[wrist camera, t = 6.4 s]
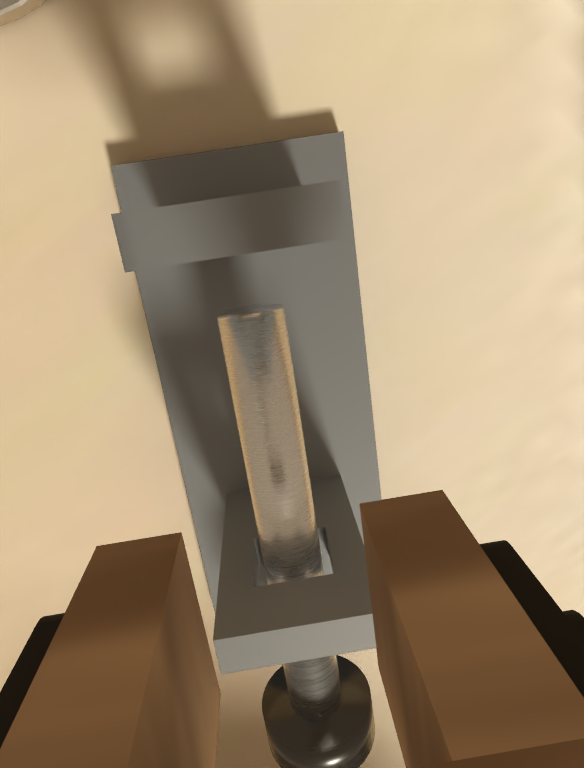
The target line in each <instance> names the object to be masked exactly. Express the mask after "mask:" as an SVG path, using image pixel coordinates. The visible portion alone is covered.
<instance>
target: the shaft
mask: <svg viewBox="0 0 584 768" xmlns="http://www.w3.org/2000/svg"><path fill="white" fill-rule="evenodd" d="M217 321H218V326H219V331H220V336H221V342H222V347H223V352H224V357H225V363H226V368H227V373H228V378H229V384H230V389H231V394H232V399H233V405H234V410H235V415H236V420H237V426H238V431H239V436H240V441H241V447H242V452H243V457H244V462H245V468H246V473H247V478H248V483H249V489H250V494H251V499H252V504H253V510H254V515H255V520H256V525H257V531H258V536H259V541H260V546H261V552H262V557H263V562H264V567H265V573H266V578H267V583H268V584H274V583H280V582H286V581H292V580H298V579H304V578H310V577H316V576H322V575H324V571H323V564H322V557H321V551H320V544H319V537H318V530H317V524H316V517H315V510H314V504H313V497H312V490H311V484H310V477H309V470H308V464H307V457H306V450H305V444H304V437H303V430H302V423H301V417H300V410H299V403H298V397H297V390H296V383H295V377H294V370H293V363H292V357H291V350H290V343H289V336H288V330H287V323H286V316H285V310H284V306H283V305H280V304H262V305H253V306H247V307H242V308H237V309H233V310H230V311H226V312H224V313H221V314H219V315H218V316H217ZM262 710H263V716H264V721H265V725H266V730H267V735H268V739H269V744H270V748H271V752H272V754H273V756H274V758H275V760H276V762H277V763H278V764H279V766H280V767H281V768H358V767H359V766H360V765H361V764H362V763H363V762H364V760H365V759H366V758H367V756H368V754H369V752H370V750H371V748H372V745H373V741H374V735H375V725H374V717H373V709H372V701H371V693H370V687H369V684H368V681H367V679H366V677H365V675H364V674H363V673H362V671H361V670H360V669H359V668H358V667H357V666H356V665H355V664H354V663H352V662H351V661H349V660H348V659H346V658H343V657H341V656H338V655H332V656H326V657H320V658H315V659H309V660H303V661H297V662H291V663H285V664H283V666H282V667H281V668H279V669H278V670H277V671H276V672H275V674H274V675H273V676H272V677H271V679H270V680H269V682H268V684H267V686H266V688H265V691H264V694H263V699H262Z"/></svg>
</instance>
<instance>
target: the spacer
mask: <svg viewBox="0 0 584 768" xmlns="http://www.w3.org/2000/svg"><path fill="white" fill-rule="evenodd" d="M359 505H360V514H361V522H362V531H363V539H364V547H365V556H366V564H367V573H368V581H369V590H370V598H371V606H372V615H373V623H374V632H375V640H376V649H377V657H378V666H379V670H380V674H381V677H382V681H383V685H384V688H385V692H386V696H387V699H388V703H389V707H390V710H391V714H392V718H393V721H394V725H395V729H396V732H397V736H398V740H399V743H400V747H401V751H402V754H403V758H404V761H405V765H406V768H584V698H583V696H582V695H581V693H580V692H579V690H578V689H577V687H576V686H575V684H574V683H573V681H572V680H571V679H570V677H569V676H568V674H567V673H566V671H565V670H564V668H563V667H562V665H561V664H560V662H559V661H558V659H557V658H556V656H555V655H554V654H553V652H552V651H551V649H550V648H549V646H548V645H547V643H546V642H545V640H544V639H543V637H542V636H541V634H540V633H539V632H538V630H537V629H536V627H535V626H534V624H533V623H532V621H531V620H530V618H529V617H528V615H527V614H526V612H525V611H524V609H523V608H522V607H521V605H520V604H519V602H518V601H517V599H516V598H515V596H514V595H513V593H512V592H511V590H510V589H509V587H508V586H507V584H506V583H505V582H504V580H503V579H502V577H501V576H500V574H499V573H498V571H497V570H496V568H495V567H494V565H493V564H492V562H491V561H490V560H489V558H488V557H487V555H486V554H485V552H484V551H483V549H482V548H481V546H480V545H479V543H478V542H477V540H476V539H475V537H474V536H473V535H472V533H471V532H470V530H469V529H468V527H467V526H466V524H465V523H464V521H463V520H462V518H461V517H460V515H459V514H458V512H457V511H456V510H455V508H454V507H453V505H452V504H451V502H450V501H449V499H448V498H447V496H446V495H445V493H444V492H443V490H439V491H433V492H427V493H421V494H415V495H408V496H402V497H396V498H390V499H384V500H378V501H372V502H365V503H359ZM219 707H220V690H219V686H218V682H217V678H216V673H215V669H214V665H213V661H212V657H211V653H210V649H209V644H208V640H207V636H206V632H205V628H204V624H203V620H202V616H201V611H200V607H199V603H198V599H197V595H196V591H195V587H194V582H193V578H192V574H191V570H190V566H189V562H188V558H187V553H186V549H185V545H184V541H183V537H182V533H175V534H169V535H162V536H156V537H150V538H144V539H138V540H132V541H126V542H119V543H113V544H107V545H101V546H97V547H96V549H95V551H94V553H93V555H92V557H91V560H90V562H89V564H88V566H87V568H86V570H85V572H84V574H83V576H82V578H81V581H80V583H79V585H78V587H77V589H76V591H75V593H74V595H73V597H72V599H71V602H70V604H69V606H68V608H67V610H66V612H65V614H64V616H63V618H62V620H61V623H60V625H59V627H58V629H57V631H56V633H55V635H54V637H53V639H52V641H51V643H50V646H49V648H48V650H47V652H46V654H45V656H44V658H43V660H42V662H41V664H40V667H39V669H38V671H37V673H36V675H35V677H34V679H33V681H32V683H31V685H30V688H29V690H28V692H27V694H26V696H25V698H24V700H23V702H22V704H21V706H20V709H19V711H18V713H17V715H16V717H15V719H14V721H13V723H12V725H11V727H10V730H9V732H8V734H7V736H6V738H5V740H4V742H3V744H2V746H1V748H0V768H215V763H216V749H217V735H218V721H219Z"/></svg>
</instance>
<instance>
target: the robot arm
mask: <svg viewBox="0 0 584 768" xmlns="http://www.w3.org/2000/svg"><path fill="white" fill-rule="evenodd" d="M45 1H46V0H0V25H3V24H6V23H9V22H12V21H15V20H17V19H19V18H21V17H22V16H24V15H26V14H27V13H29V12H31V11H32V10H34V9H36V8H37V7H39V6H40V5H42V4H43V3H44V2H45ZM479 545H480V546H481V548H482V549H483V551H484V552H485V554H486V555H487V557H488V558H489V560H490V561H491V562H492V564H493V565H494V567H495V568H496V570H497V571H498V573H499V574H500V576H501V577H502V579H503V580H504V582H505V583H506V584H507V586H508V587H509V589H510V590H511V592H512V593H513V595H514V596H515V598H516V599H517V601H518V602H519V604H520V605H521V607H522V608H523V609H524V611H525V612H526V614H527V615H528V617H529V618H530V620H531V621H532V623H533V624H534V626H535V627H536V629H537V630H538V632H539V633H540V634H541V636H542V637H543V639H544V640H545V642H546V643H547V645H548V646H549V648H550V649H551V651H552V652H553V654H554V655H555V656H556V658H557V659H558V661H559V662H560V664H561V665H562V667H563V668H564V670H565V671H566V673H567V674H568V676H569V677H570V679H571V680H572V681H573V683H574V684H575V686H576V687H577V689H578V690H579V692H580V693H581V695H582V696H583V698H584V617H583V616H582V615H581V614H580V613H578V612H576V611H574V610H569V611H563V612H562V610H561V609H560V608H559V606H558V605H557V604H556V602H555V601H554V600H553V599H552V597H551V596H550V595H549V593H548V592H547V591H546V590H545V588H544V587H543V586H542V584H541V583H540V582H539V581H538V579H537V578H536V577H535V575H534V574H533V573H532V572H531V570H530V569H529V568H528V566H527V565H526V564H525V563H524V561H523V560H522V559H521V557H520V556H519V555H518V554H517V552H516V551H515V550H514V548H513V547H512V546H511V545H510V544H509V543H508V542H507V541H505V540H503V541H497V542H491V543H485V544H479ZM64 614H65V613H62V614H56V615H50V616H44V617H42V618H41V619H40V620H39V621H38V623H37V624H36V626H35V628H34V630H33V632H32V634H31V636H30V638H29V639H28V641H27V643H26V645H25V647H24V649H23V651H22V653H21V654H20V656H19V658H18V660H17V662H16V664H15V666H14V668H13V669H12V671H11V673H10V675H9V677H8V679H7V681H6V683H5V684H4V686H3V688H2V690H1V692H0V748H1V746H2V744H3V742H4V740H5V738H6V736H7V734H8V732H9V730H10V727H11V725H12V723H13V721H14V719H15V717H16V715H17V713H18V711H19V709H20V706H21V704H22V702H23V700H24V698H25V696H26V694H27V692H28V690H29V688H30V685H31V683H32V681H33V679H34V677H35V675H36V673H37V671H38V669H39V667H40V664H41V662H42V660H43V658H44V656H45V654H46V652H47V650H48V648H49V646H50V643H51V641H52V639H53V637H54V635H55V633H56V631H57V629H58V627H59V625H60V623H61V620H62V618H63V616H64Z"/></svg>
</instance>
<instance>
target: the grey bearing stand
mask: <svg viewBox="0 0 584 768" xmlns="http://www.w3.org/2000/svg"><path fill="white" fill-rule="evenodd" d="M111 169H112V173H113V177H114V182H115V186H116V190H117V195H118V199H119V203H120V207H121V212H122V213H116V214H111V216H112V220H113V224H114V228H115V232H116V237H117V241H118V245H119V249H120V253H121V257H122V262H123V266H124V270H125V272H131V271H135V272H136V276H137V280H138V285H139V289H140V293H141V298H142V302H143V306H144V311H145V315H146V319H147V323H148V328H149V332H150V336H151V341H152V345H153V349H154V353H155V358H156V362H157V366H158V371H159V375H160V379H161V383H162V388H163V392H164V396H165V401H166V405H167V409H168V414H169V418H170V422H171V426H172V431H173V435H174V439H175V444H176V448H177V452H178V456H179V461H180V465H181V469H182V474H183V478H184V482H185V487H186V491H187V495H188V499H189V504H190V508H191V512H192V517H193V521H194V525H195V529H196V534H197V538H198V542H199V547H200V551H201V555H202V560H203V564H204V568H205V572H206V577H207V581H208V585H209V590H210V594H211V598H212V602H213V607H214V611H215V626H214V636H213V642H214V646H215V651H216V655H217V659H218V663H219V667H220V672H221V674H227V673H233V672H238V671H244V670H250V669H256V668H262V667H268V666H274V665H279V664H285V663H291V662H297V661H303V660H309V659H315V658H320V657H326V656H332V655H338V654H344V653H350V652H356V651H361V650H367V649H373V648H376V640H375V632H374V623H373V615H372V606H371V598H370V590H369V581H368V573H367V564H366V556H365V547H364V539H363V531H362V522H361V514H360V505H359V503H365V502H372V501H378V500H381V491H380V481H379V471H378V462H377V452H376V442H375V433H374V423H373V413H372V404H371V394H370V384H369V375H368V365H367V355H366V346H365V336H364V326H363V317H362V307H361V297H360V288H359V278H358V268H357V259H356V249H355V239H354V230H353V220H352V210H351V201H350V191H349V181H348V172H347V162H346V152H345V143H344V133H343V131H342V132H335V133H328V134H321V135H315V136H308V137H301V138H295V139H288V140H281V141H274V142H268V143H261V144H254V145H248V146H241V147H234V148H227V149H221V150H214V151H207V152H201V153H194V154H187V155H180V156H174V157H167V158H160V159H153V160H147V161H140V162H133V163H127V164H120V165H113V166H111ZM262 304H280V305H283V306H284V310H285V316H286V323H287V330H288V336H289V343H290V350H291V357H292V363H293V370H294V377H295V383H296V390H297V397H298V403H299V410H300V417H301V423H302V430H303V437H304V444H305V450H306V457H307V464H308V470H309V477H310V484H311V490H312V497H313V504H314V510H315V517H316V524H317V530H318V537H319V544H320V551H321V557H322V564H323V571H324V575H322V576H316V577H310V578H304V579H298V580H292V581H286V582H280V583H274V584H268V583H267V578H266V573H265V567H264V562H263V557H262V552H261V546H260V541H259V536H258V531H257V525H256V520H255V515H254V510H253V504H252V499H251V494H250V489H249V483H248V478H247V473H246V468H245V462H244V457H243V452H242V447H241V441H240V436H239V431H238V426H237V420H236V415H235V410H234V405H233V399H232V394H231V389H230V384H229V378H228V373H227V368H226V363H225V357H224V352H223V347H222V342H221V336H220V331H219V326H218V321H217V316H218V315H219V314H221V313H224V312H226V311H230V310H233V309H237V308H242V307H247V306H253V305H262Z"/></svg>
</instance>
